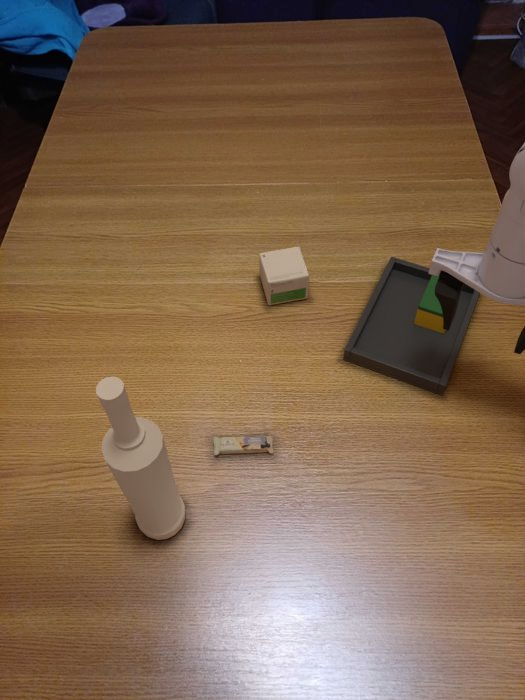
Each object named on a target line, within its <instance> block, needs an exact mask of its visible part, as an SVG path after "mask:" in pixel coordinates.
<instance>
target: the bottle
mask: <svg viewBox="0 0 525 700" xmlns="http://www.w3.org/2000/svg"><path fill="white" fill-rule="evenodd" d="M95 393H96V396H97V398H98V400H99V403H100V405H101V408H102V410H104V411H105V414H106V416H107V418H108V421H109V423H110V425H111V427H110V428H109V429H108V430H107V431H106V433H105V435H104V437H103V439H102V441H101V453H102V457H103V459H104V461H105V463H106V465H107V467H108V468H109V470H110V472H111V474H112V476H113V477H114V479H115V482H116V483H117V485H118V486H119V489H120V490H121V492H122V494H123V495H124V497H125V500H126V501H127V503H128V504H129V507H130V508H131V510H132V512H133V513H134V519H135V522H136V524H137V526H138V528H139V530H140V531H141V532H142V533H143V534H144V535H145V536H146V537H148V538H151V539H154V540H157V541H158V540H159V541H160V540H168V539H169V538H172V537H173V536H176V535H177V533H178V532H179V531H180V530H181V529H182V528H183V525H184V523H185V520H186V505H185V503H184V501H183V499H182V496H181V495H180V494H179V490H178V486H177V483H176V479H175V475H174V472H173V468H172V464H171V461H170V457H169V454H168V450H167V447H166V443H165V439H164V436H163V433H162V431H161V428H160V427H159V425H157V424H156V423H155V422H153V420H151V419H149V418H145V417H142V416H135V413H134V410H133V408H132V405H131V403H130V398H129V395H128V392H127V390H126V387H125V384H124V382H123V380H122V379H121V378H119V377H117V376H106V377H105V378H102V379H101V380H99V381H98V382H97V385H96V387H95Z"/></svg>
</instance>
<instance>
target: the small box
mask: <svg viewBox="0 0 525 700" xmlns="http://www.w3.org/2000/svg"><path fill="white" fill-rule="evenodd" d="M258 260H259V261H258V262H259V263H258V265H259V278H260V281H261V284H262V287H263V292H264V296H265V299H266V303H267V305H268V306H273V305H278V304H279V305H280V304H284V303H289V302H290V303H291V302H295V301H300V300H308V298H309V286H310V285H309V284H310V274H309V271H308V268H307V266H306V262H305V258H304V256H303V253H302V249H301V247H300V245H299V246H293V247H288V248H281V249H275V250H270V251H264V252H259V253H258Z"/></svg>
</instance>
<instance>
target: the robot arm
mask: <svg viewBox="0 0 525 700" xmlns="http://www.w3.org/2000/svg"><path fill="white" fill-rule="evenodd" d="M508 173H509V174H508V175H509V182H510V186H509V188H508V190H507V191H506V193H505V194H504V196H503V200H502V203H501V205H500V207H499V210H498V213H497V216H496V218H495V222H494V224H493V226H492V229H491V232H490V236H489V237H488V240H487V243H486V244H487V245H486V247H485V249H484V252H474V251H473V252H472V251H456V250H447V249H443V248H439V247H437V248H436V250H435V252H434V254H433V256H432V259H431V262H430V266H429V268H430V269H429V274H431V275H434V276H439V278H438V281H437V283H436V286H435V296H436V297H437V299H438V301H439V303H440V305H441V308H442V313H443V329H445V330H448V331H449V329H450V326H451V324H452V321H453V319H454V316H455V313H456V310H457V306H458V302H459V297H460V294H461V291H462V288H463V285H464V283H465V284H467V285H468V286H470V287H471V288H473V289H475V290H476V291H478V292H479V293H480V295H483V296H484V297H486V298H487V299H489V300H491V301H493V302H495V303H498V304H501V305H502V304H503V305H506V306H507V305H508V306H509V305H510V306H522V307H523V306H524V307H525V142H524V143H523V144H522V145H521V147H520V148H519V150H518V151H517V152H516V154H515V155H514V157H513V160H512V162H511V164H510V167H509V171H508ZM520 331H521V332H519V333H520V334H519V336H518V338H517V340H516V344H515V347H514V351H513V353H514V354H517V355H522V353H523V352H524V351H525V325H524V326H523V328H522V330H520Z"/></svg>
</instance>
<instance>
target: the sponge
mask: <svg viewBox="0 0 525 700" xmlns="http://www.w3.org/2000/svg"><path fill="white" fill-rule="evenodd" d="M438 278H439V276H434V275H432V276H431V279H430V281H429V283H428V286H427V288H426V290H425V292H424V295H423V297H422V299H421V302H420V304H419V306H418V310H417V314H416V317H415V321H414V324H416V325H419V326H422V327H425V328H428V329H431V330H434V331H437V332H440V333H443V334H444V333H445V331H446V330H445V329H443V313H442V308H441V305H440V303H439V301H438V299H437V297H436V296H435V286H436V283H437V281H438Z"/></svg>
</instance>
